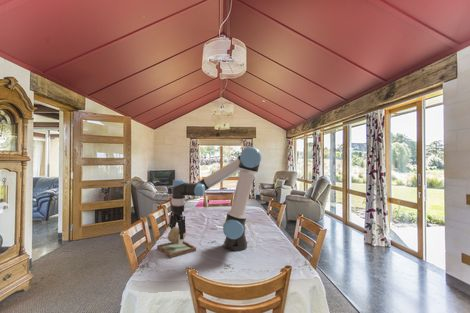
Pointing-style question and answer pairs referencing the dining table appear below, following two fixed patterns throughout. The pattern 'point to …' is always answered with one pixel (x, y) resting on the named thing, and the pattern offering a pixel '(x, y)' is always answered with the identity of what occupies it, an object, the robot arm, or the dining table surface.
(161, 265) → the dining table surface
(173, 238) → the coral
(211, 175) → the robot arm
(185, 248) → the base
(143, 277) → the dining table surface
